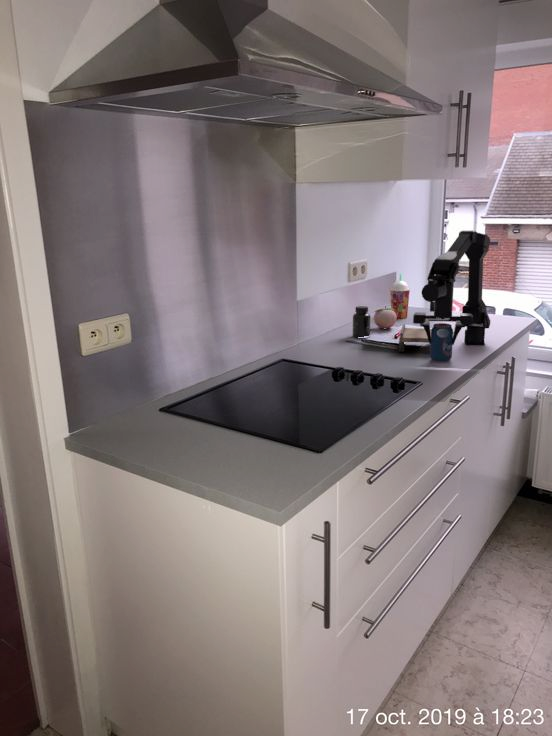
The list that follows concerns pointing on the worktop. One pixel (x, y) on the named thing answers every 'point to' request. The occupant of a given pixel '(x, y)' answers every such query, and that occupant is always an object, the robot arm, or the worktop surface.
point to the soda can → (441, 342)
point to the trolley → (412, 336)
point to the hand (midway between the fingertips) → (441, 344)
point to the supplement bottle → (361, 322)
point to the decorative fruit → (385, 317)
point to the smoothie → (400, 298)
